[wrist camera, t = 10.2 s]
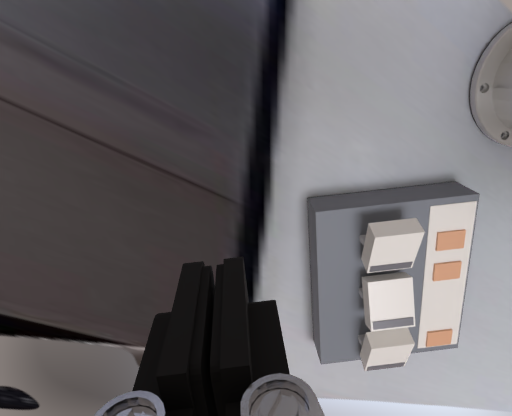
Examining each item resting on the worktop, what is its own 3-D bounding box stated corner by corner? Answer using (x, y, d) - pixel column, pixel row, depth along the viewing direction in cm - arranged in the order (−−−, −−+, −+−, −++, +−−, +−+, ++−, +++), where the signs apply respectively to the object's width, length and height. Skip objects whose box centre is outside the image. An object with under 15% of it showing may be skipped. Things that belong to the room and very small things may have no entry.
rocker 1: (416, 217, 33) (425, 232, 32) (404, 253, 36) (412, 268, 35) (368, 223, 33) (375, 238, 32) (361, 258, 36) (367, 273, 35)
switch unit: (455, 181, 39) (486, 197, 34) (439, 324, 46) (462, 354, 41) (307, 197, 38) (317, 216, 34) (313, 339, 46) (323, 371, 41)
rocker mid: (404, 271, 37) (413, 277, 35) (407, 318, 38) (415, 326, 36) (361, 276, 37) (367, 282, 35) (365, 323, 37) (371, 332, 36)
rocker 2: (407, 327, 38) (415, 344, 36) (398, 350, 41) (404, 366, 40) (365, 332, 38) (371, 349, 36) (359, 355, 41) (365, 371, 39)
